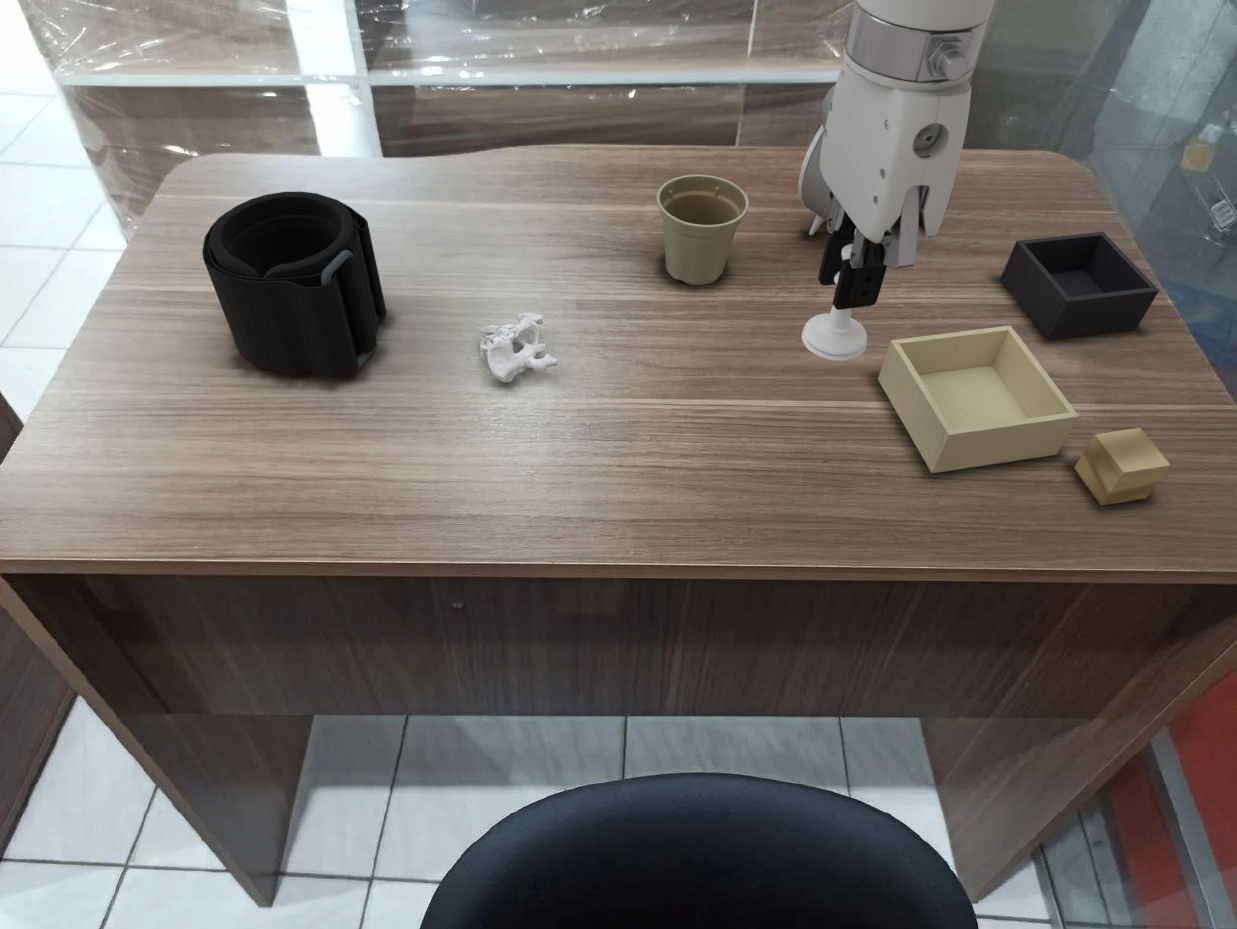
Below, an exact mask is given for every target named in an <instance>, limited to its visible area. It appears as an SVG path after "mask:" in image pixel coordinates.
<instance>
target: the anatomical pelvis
mask: <svg viewBox="0 0 1237 929" xmlns="http://www.w3.org/2000/svg"><path fill="white" fill-rule="evenodd" d="M517 320H518V322H519V323H517V324H516V325H515V324H513V323H505V324H504V325H495V324H490V325H488V326H485V327H481V328H479V329H478V333H479V334H484V335H485V337H482V336H480V337H479V345H478V346H479V347H478V349H479V351H478V352H479V356H480V358H486V359H487V364H488V367H489V370H490V371H491V373H492V374H493V376H494V377H495V378H496V379H498V380H499V381H501V383H511V382H512V381H513V380H514V378H515V377H516V376H517V375H518V374H522V373H523V372H524V371H525V370H526V369H533V371H535V372H542V371H546V369H548V368H550V367H554V366H557V365H558V360H557V358H556V357H554V356H552V355H551V354H550V353H546V354H545V355H544V357H542V358H536V356H537V354H538V353H543V352H544V351H546V349H547V348H548V345H547V344H546V343H544V342H541V335H540V334H541V328H540V325H544V317H543V315H542V314H539V313H538V314H537V313H531V312H528V311H527V312H526V311H525V312H520V313H519V314H518V315H517ZM530 332H533V333H534V340H533V342H531V343H528V342H527V339H526V336H527V335H529V333H530ZM513 341H516V342H518V343H519V344H520V345H521V346H522V347H523V348H522V349H521V350H520V351H519V352H516V353H515V352H514V346H513ZM540 342H541V343H540Z"/></svg>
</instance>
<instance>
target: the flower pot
mask: <svg viewBox="0 0 1237 929" xmlns="http://www.w3.org/2000/svg"><path fill="white" fill-rule="evenodd" d="M656 205H657V207H658V209H659V211H660V216H661V219H662V225H663V226H662V227H663V238H664V254H665V255H664V256H665V268H666V271H667V273H668V274H669V276H671V278H673V279H675V280H678V281H682V282H683V283H686V284H687V285H691V286H702V285H703V286H704V285H708V284H711V283H714V282H716V281H717V280H718V278H719V277H720V276H721V275H722V274H723V272H724V268H725V265H726V263H727V260H728V256H729V253H730V250H731V247H732V244H733V242H734V237H735V234H736V231H737V228H738V227H740V224H741V223H742V219H743V218H744V217H745V216H747V213H748V211H749V208H750V200H749V197H748V194H747V193H746V192H745V191H744V190H743V188H741V187H740V186H739V185H737V184H735V183H734V182H732V181H730V180H729V179H726V178H724V177H720V176H716V175H711V174H710V175H709V174H700V173H699V174H698V173H697V174H686V175H681V176H677V177H674V178H671V179H669V180H667V181H665V182H664V183H663V184H662V185H661V186H660V187H659V189H658V190H657V193H656Z"/></svg>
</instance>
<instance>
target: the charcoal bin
mask: <svg viewBox="0 0 1237 929" xmlns="http://www.w3.org/2000/svg"><path fill="white" fill-rule="evenodd" d="M1001 273H1002V274H1001V276H1000V278H999V280H1000V282H1001V283H1002V284H1003V285H1004V287H1005V288H1006V290H1007V291H1008V292H1009V293H1010V295H1011V296H1012V298H1014V300H1015V301H1016V302H1017V304H1019V306H1020V308H1022V309H1023V311H1024V312H1025V313H1026V315H1027V316H1028V317H1029V319H1030V320H1031V321H1032V322H1033V324H1034V325H1035V326H1036V327H1037V329H1038V330H1039V331H1040V332H1041V334H1042V335H1043V336H1044V338H1045V339H1046V341H1054V340H1060V339H1069V338H1078V337H1085V336H1092V335H1100V334H1107V333H1109V334H1110V333H1115V332H1124V331H1132V330H1137V329H1138V327H1139V325H1140V324H1141V322H1142V321H1143V319H1144V317H1145V316H1146V314H1147V312H1148V310H1149V308H1150V307H1151V305H1152V304H1153V302H1154V300H1155V298H1157V295H1158V294H1159V292H1160V290H1159V288H1158V287H1157V286H1156V285H1155V284H1154V283H1153V282H1152V280H1150V279H1149V277H1147V275H1146V274H1145V273H1143V272H1142V270H1141V269H1140V268H1139V267H1138V266H1137V265H1136V264H1135V263H1134V262H1133V261H1132V260H1131V258H1129V257H1128V256H1127V255H1126V254H1125V253H1124V252H1123V251H1122V250H1121V248H1120V247H1119V246H1118V245H1117V244H1116V243H1115V242H1114V241H1113V240H1112V239H1111V238H1110V237H1109V236H1108V235H1107V234H1106V233H1105V232H1104V231H1096V232H1087V233H1078V234H1068V235H1058V236H1049V237H1041V238H1032V239H1023V240H1016V241H1015V243H1014V246H1013V248H1012V250H1011V253H1010V255H1009V257H1008V259H1007V262H1006V264H1005V267H1004V269H1003V271H1002V272H1001Z"/></svg>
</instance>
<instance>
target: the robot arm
mask: <svg viewBox="0 0 1237 929" xmlns="http://www.w3.org/2000/svg"><path fill="white" fill-rule="evenodd" d="M995 2H996V0H853V3H852V8H851V13H850V17H849V22H848V27H847V32H846V37H845V42H844V46H843V51H842V59H843V61H842V63H841V67H840V70H839V73H838V77H837V79H836V82H835V84H836V86H835V90H834V94H833V98H832V101H831V105H830V109H829V113H828V117H827V121H826V126H825V130H824V135H823V140H822V146H821V153H820V170H821V173H822V176H823V178H824V180H825V181H826V183H827V185H828V186H829V188H830V189H831V192H830V198H831V202H832V203H831V207H830V212H829V216H828V220H827V221H826V228H827V232H828V233H829V234H830V235H827V237H826V242H825V246H824V250H823V254H822V259H821V264H820V268H819V272H818V276H817V280H818V282H819V283H820V285H821V286H825V287H826V286H835V285H836V283H835V282H834V277H835V275H836V274H837V273H838V272H839V271H840V275H839V279H838V283H837V285H836V287H835V291H834V295H833V299H832V306H833V305H834V307H835V308H836V309H837V310H842V309H850V308H851V309H856V308H864V307H871V306H874V305H875V304H876V303H877V302H878V300H879V299H878V298H879V296H880V292H881V289H882V285H883V282H884V278H885V275H886V271H887V269H888V268H889V269H891V270H894V271H895V270H903V269H910V268H914V267H915V265H916V261H917V249H918V237H919V236H918V235H919V232H920V234H922V235H923V237H924V238H933V237H935V236H936V235H937V234H938V232H939V231H940V229H941V226H942V224H943V221H944V217H945V215H946V211H947V209H948V205H949V202H950V199H951V194H952V191H953V187H954V183H955V180H956V177H957V174H958V173H957V172H958V169H959V166H960V160H961V156H962V151H963V148H964V142H965V138H966V132H967V128H968V120H969V114H970V109H971V99H972V98H971V97H972V85H971V84H970V82H969V81H968V80H969V79H970V77H971V76H972V74H973V71H974V68H975V64H976V62H977V58H978V55H979V52H980V48H981V45H982V43H983V40H984V36H985V33H986V30H987V27H988V23H989V20H990V17H991V14H992V12H993V8H994V5H995ZM856 228H857V229H856ZM855 229H856V233H855ZM854 233H855V234H854ZM871 242H872V243H874V244H872V243H871ZM849 244H853V245H852V249H851V253H850V259H846V260H842V254H841V252H842V249H843V247H845V246H846V245H849Z"/></svg>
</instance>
